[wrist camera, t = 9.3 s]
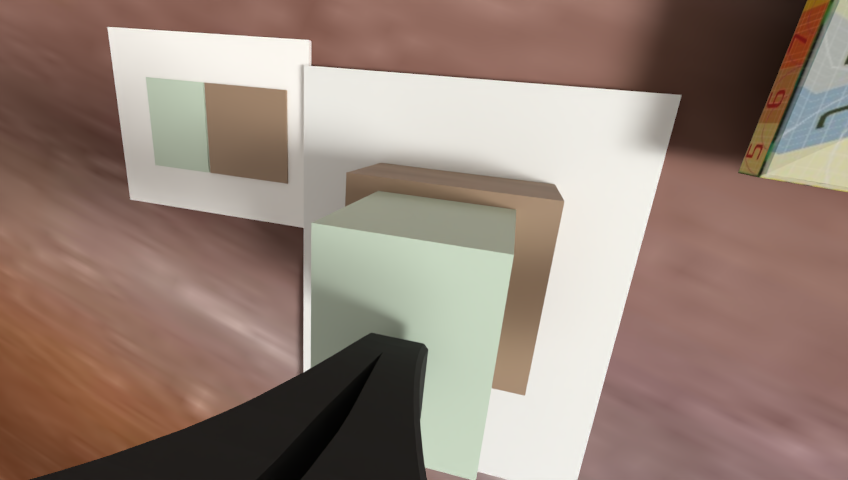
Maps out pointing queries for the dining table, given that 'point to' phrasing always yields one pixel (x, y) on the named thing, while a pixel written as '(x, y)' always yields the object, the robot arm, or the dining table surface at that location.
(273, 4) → the dining table surface
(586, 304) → the plate
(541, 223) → the walnut brick
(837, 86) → the puzzle game
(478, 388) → the sage brick
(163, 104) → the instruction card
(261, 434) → the robot arm
